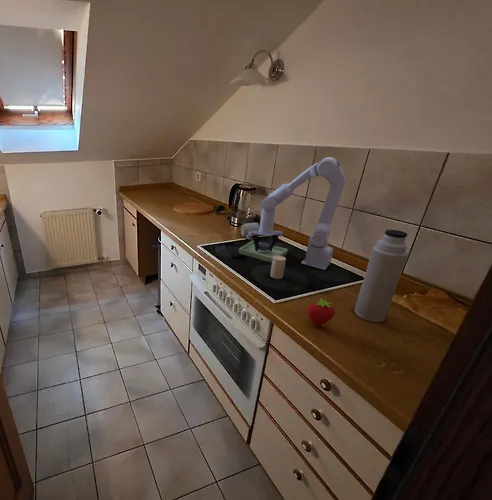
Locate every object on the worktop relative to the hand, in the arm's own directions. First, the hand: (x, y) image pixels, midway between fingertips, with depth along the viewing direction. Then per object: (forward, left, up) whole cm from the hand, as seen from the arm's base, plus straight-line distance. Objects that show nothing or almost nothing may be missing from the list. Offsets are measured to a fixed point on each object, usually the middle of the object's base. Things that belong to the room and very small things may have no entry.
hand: (263, 250), depth 140 cm
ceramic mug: (+14, -16, -2) cm, 21 cm away
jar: (-14, +18, -2) cm, 23 cm away
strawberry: (-36, +41, -2) cm, 55 cm away
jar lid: (0, 0, +2) cm, 3 cm away
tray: (0, 0, -2) cm, 2 cm away
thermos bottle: (-46, +24, -2) cm, 52 cm away
